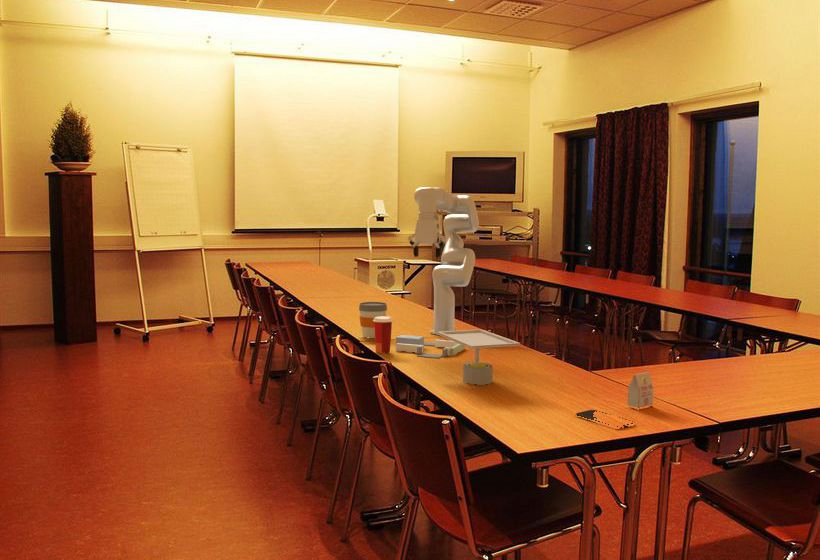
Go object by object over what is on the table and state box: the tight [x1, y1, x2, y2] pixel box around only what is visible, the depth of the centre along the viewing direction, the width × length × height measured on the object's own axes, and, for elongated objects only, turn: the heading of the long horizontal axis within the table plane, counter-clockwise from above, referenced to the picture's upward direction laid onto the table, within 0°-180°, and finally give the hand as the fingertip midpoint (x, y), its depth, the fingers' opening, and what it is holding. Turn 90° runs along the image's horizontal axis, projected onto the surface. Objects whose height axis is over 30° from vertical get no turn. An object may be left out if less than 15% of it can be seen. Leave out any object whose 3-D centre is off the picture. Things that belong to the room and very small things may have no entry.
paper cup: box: [373, 315, 393, 354], centre depth 284 cm, size 8×8×14 cm
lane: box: [395, 338, 466, 359], centre depth 290 cm, size 29×24×3 cm
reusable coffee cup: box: [358, 301, 388, 339], centre depth 319 cm, size 13×13×15 cm
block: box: [395, 334, 425, 349], centre depth 293 cm, size 6×10×5 cm, turn 68°
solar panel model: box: [437, 328, 521, 386], centre depth 237 cm, size 28×17×15 cm, turn 20°
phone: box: [575, 409, 636, 427], centre depth 195 cm, size 8×1×15 cm
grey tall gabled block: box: [627, 371, 654, 408], centre depth 208 cm, size 4×7×10 cm, turn 126°
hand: (426, 256), depth 305 cm, fingers open, 9 cm apart
